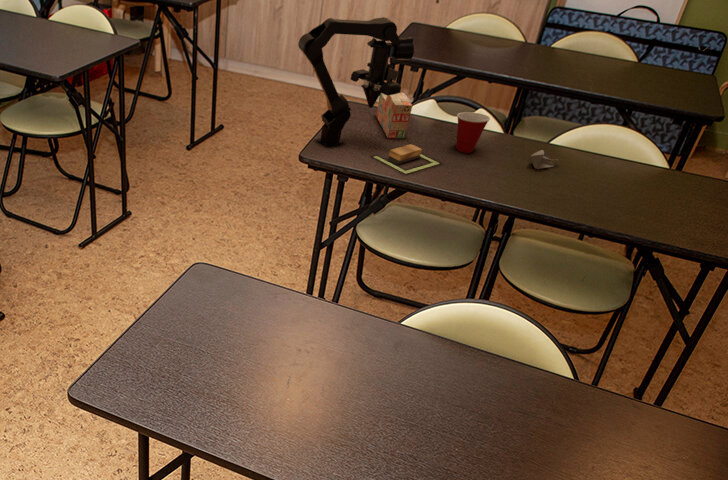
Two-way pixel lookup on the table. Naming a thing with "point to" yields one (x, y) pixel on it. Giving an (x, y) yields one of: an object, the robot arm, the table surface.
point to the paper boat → (541, 160)
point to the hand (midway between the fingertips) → (370, 107)
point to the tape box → (410, 169)
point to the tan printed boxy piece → (394, 114)
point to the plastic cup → (469, 130)
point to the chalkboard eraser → (404, 154)
